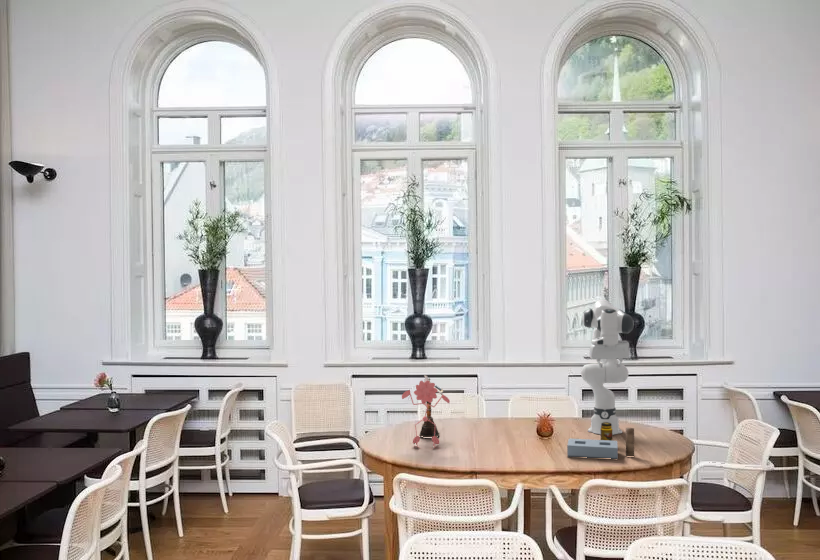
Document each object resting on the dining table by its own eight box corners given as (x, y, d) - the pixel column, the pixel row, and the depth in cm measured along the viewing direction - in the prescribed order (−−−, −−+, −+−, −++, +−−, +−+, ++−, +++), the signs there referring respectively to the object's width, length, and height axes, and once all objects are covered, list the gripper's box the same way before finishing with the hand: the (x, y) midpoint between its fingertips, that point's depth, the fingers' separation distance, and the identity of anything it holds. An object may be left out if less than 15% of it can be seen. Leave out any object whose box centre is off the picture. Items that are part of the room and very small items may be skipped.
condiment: (610, 448, 369) (610, 425, 368) (594, 446, 374) (594, 423, 373) (615, 445, 375) (614, 422, 375) (599, 442, 380) (599, 420, 379)
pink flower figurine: (449, 449, 371) (448, 382, 370) (401, 448, 374) (399, 382, 373) (451, 441, 386) (451, 377, 385) (404, 441, 390) (403, 377, 389)
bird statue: (448, 433, 406) (447, 372, 405) (448, 438, 393) (447, 375, 392) (419, 433, 407) (418, 372, 406) (418, 438, 394) (417, 376, 393)
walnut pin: (625, 455, 355) (625, 427, 355) (634, 455, 354) (633, 427, 354) (626, 457, 351) (625, 429, 351) (634, 457, 350) (634, 429, 350)
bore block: (568, 449, 366) (568, 438, 366) (617, 452, 360) (617, 440, 360) (567, 457, 353) (567, 445, 353) (617, 460, 347) (617, 448, 346)
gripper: (626, 339, 370) (627, 366, 370) (588, 340, 369) (588, 367, 369) (631, 340, 364) (631, 367, 364) (592, 341, 362) (592, 368, 363)
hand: (609, 367), depth 366 cm, fingers open, 8 cm apart
